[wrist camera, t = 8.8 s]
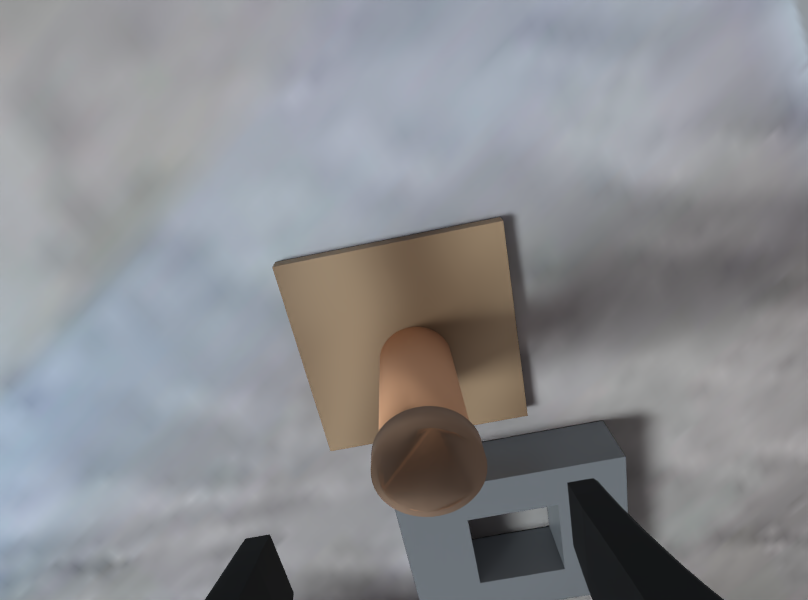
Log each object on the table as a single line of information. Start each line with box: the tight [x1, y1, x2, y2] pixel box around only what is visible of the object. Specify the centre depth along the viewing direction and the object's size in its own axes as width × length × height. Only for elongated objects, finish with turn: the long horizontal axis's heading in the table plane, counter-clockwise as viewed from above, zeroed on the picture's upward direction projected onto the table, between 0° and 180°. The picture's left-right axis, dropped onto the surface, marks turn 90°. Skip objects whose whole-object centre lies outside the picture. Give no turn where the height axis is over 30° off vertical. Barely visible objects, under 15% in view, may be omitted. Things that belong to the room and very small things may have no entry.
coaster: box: [272, 217, 528, 451], centre depth 21 cm, size 9×9×1 cm
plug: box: [371, 327, 487, 517], centre depth 18 cm, size 3×3×7 cm
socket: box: [395, 421, 628, 600], centre depth 24 cm, size 10×8×2 cm
